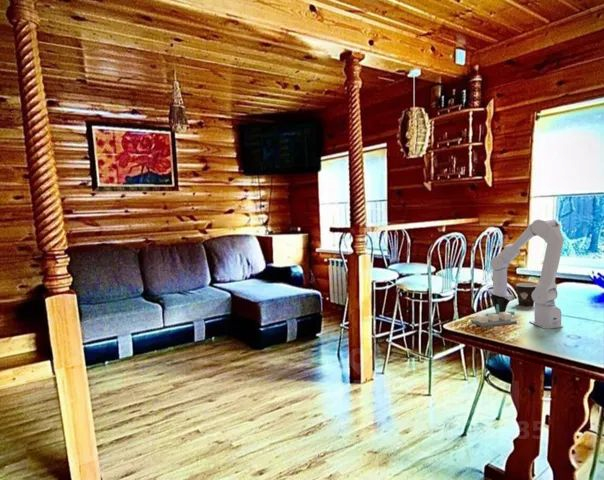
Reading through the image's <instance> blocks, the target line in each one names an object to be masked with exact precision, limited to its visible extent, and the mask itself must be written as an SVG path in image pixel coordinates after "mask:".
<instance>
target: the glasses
mask: <svg viewBox="0 0 604 480" xmlns="http://www.w3.org/2000/svg"><path fill="white" fill-rule="evenodd" d="M505 312H507V313H510V314H511V316H514V315H515V311H513V310H509V311H507V310H506V311H505ZM492 313H493V312H489V313H485V316H488V314H492ZM494 313H495V314H498V315H499V304H496V311H495V312H494Z"/></svg>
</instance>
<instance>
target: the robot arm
mask: <svg viewBox="0 0 604 480" xmlns="http://www.w3.org/2000/svg"><path fill="white" fill-rule="evenodd" d="M536 236H538V237H540V238H541V239H543V240H544V241H545V243H546V247H545V253H544V258H543V262H542V269H541V271H540V272H541V273H540V277H539V280H538V282H537V283H536V284H535V285H536V288H535V290H534V291H533V292H532V295H531V296H532V299H533V301H534V320H530V321H529V323H530V324H533V325H536V326H538V327H540V328H542V329H543V328H544V329H546V330H547V329H556V328H563V327H564V325H562V311H561V308H559V307H558V306H556V301H555V300H556V299H557V298H558V296H559V295H558V289H557V287H558V285H557V283H556V278H557V274H558V269H559V265H560V259H561V254H562V251H563V250H562V249H563V246H564V241H565V240H564V237H563V234H562V231H561V225H560V223H559V222H558V221H557V220H556V219H554V218H552V217H547V218H541V219H539V218H538V219H536V220H535V219H534V221H533V222H532V223H531V224H529V225H528V226H527V228H525V230H524V231H523V232H522V233H521V234H520V236H519V237H518V238H517V239H516V240H515V241H514V242H513V243H509V244H507V245H504V247H503V248H504V249H502V250H501V252H498V253H497V255H496V256H494V257H492V258H491V260H490V262H489V263H490V268H491V269H492V288H488V290H487V294H489V295H490V294H491V295H490V296H489V298H490V299H491V302H492V303H493V306H494V310H495V312H496V304H499V312H506V311H507V310H506V309H507V307H508V305H509V303H510V301H514V296H513V295H512V294H510V291H508V268H509V267H510V264H511V262H512V261H513V260H514V259H516V257H517V256H518V255H520V252H521V250H520V249H521V248H522V247H524V245H526V244H527V243H528V242H529V241H531V239H533V237H536Z"/></svg>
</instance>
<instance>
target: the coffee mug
mask: <svg viewBox="0 0 604 480" xmlns="http://www.w3.org/2000/svg"><path fill="white" fill-rule="evenodd" d="M536 285H537V284H536V283H535V284H534V283H528V282H521V283H516V284H515V287H516V294H517V301H518V306H520V307H524V308H525V307H527V308H531V307H532V308H533V307H535V303H534V301H533V299H532V296H531V295H532V292H533V291H534V290H535V288H536Z"/></svg>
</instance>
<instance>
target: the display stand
mask: <svg viewBox="0 0 604 480" xmlns="http://www.w3.org/2000/svg"><path fill="white" fill-rule="evenodd" d="M491 313H492V314H488V313H487V314H488V316H486V314H483V313H481V314H480V313H479V314H476V315H475V318H471V319H470V321H471V323H473V324H475V325H477V326H479V327H482V328H487V327H494V326H503V325H513V324H512V323H514V324H517V323H518V320H515V319H513V318H512V315H511V314H510V313H507V312H506V311H505V312H499V315H498V314H495V313H496V312H491Z"/></svg>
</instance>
